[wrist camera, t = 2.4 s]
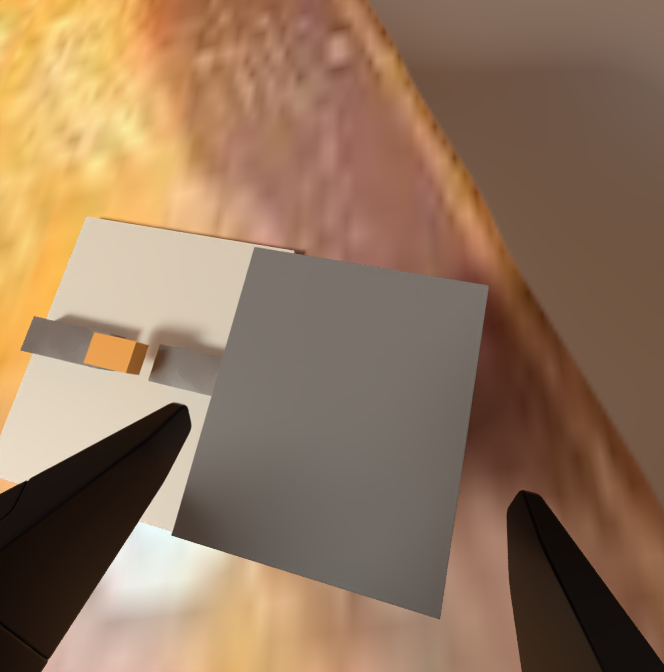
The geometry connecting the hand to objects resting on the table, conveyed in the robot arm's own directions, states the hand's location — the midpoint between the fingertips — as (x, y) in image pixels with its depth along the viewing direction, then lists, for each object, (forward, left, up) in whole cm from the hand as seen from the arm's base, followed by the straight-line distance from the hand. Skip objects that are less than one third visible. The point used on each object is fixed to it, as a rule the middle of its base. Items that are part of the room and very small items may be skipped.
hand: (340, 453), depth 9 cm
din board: (-3, +12, -9) cm, 16 cm away
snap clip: (-3, +12, -7) cm, 14 cm away
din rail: (-3, +12, -9) cm, 16 cm away
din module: (+1, 0, -9) cm, 9 cm away
